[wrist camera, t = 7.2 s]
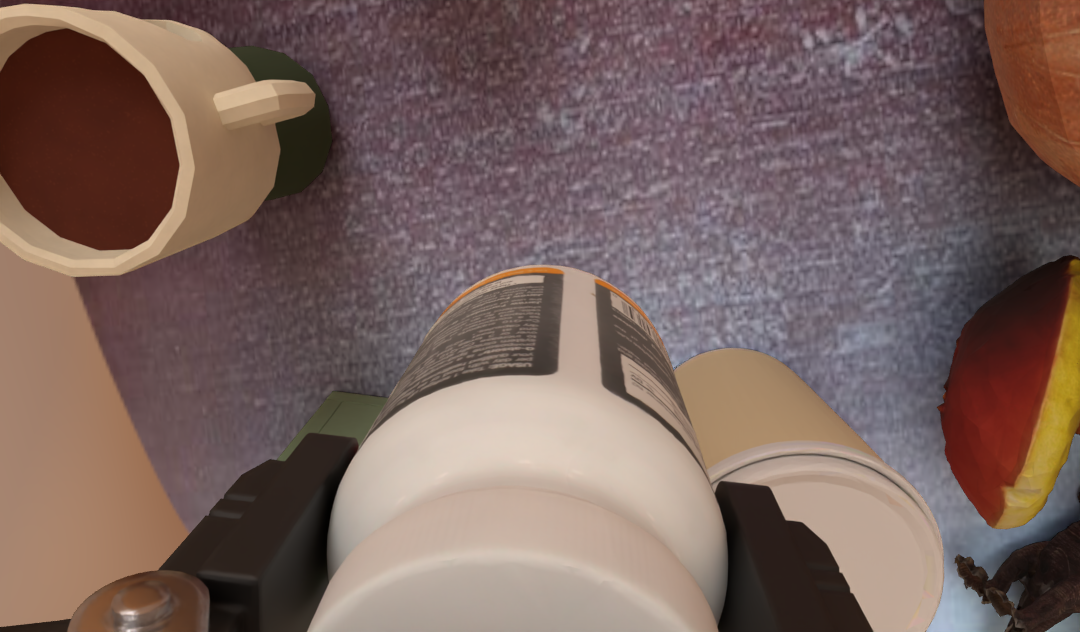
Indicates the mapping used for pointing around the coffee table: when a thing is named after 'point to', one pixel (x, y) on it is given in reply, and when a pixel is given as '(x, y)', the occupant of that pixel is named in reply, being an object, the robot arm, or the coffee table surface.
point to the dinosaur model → (1033, 582)
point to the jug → (1040, 75)
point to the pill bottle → (530, 477)
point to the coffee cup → (818, 480)
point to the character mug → (142, 136)
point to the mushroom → (1016, 394)
